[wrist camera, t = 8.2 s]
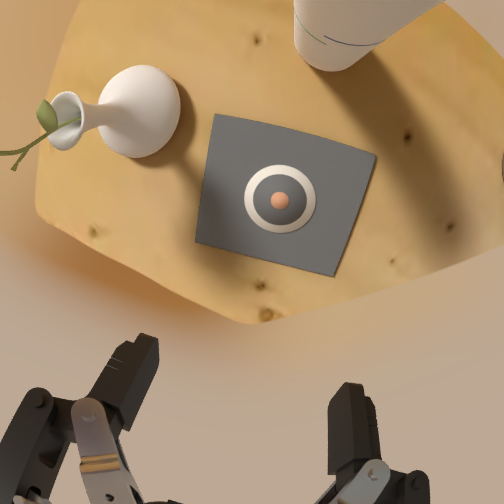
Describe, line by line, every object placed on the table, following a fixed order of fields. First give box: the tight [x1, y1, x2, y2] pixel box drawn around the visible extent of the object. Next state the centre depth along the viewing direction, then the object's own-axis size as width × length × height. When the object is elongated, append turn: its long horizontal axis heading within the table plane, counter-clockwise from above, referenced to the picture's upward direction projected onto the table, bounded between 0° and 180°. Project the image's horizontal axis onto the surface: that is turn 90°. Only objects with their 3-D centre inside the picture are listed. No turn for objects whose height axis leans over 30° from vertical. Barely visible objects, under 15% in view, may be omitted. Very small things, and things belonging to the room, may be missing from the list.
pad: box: [195, 114, 376, 277], centre depth 31 cm, size 18×16×1 cm
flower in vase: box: [0, 65, 180, 171], centre depth 18 cm, size 13×11×25 cm
